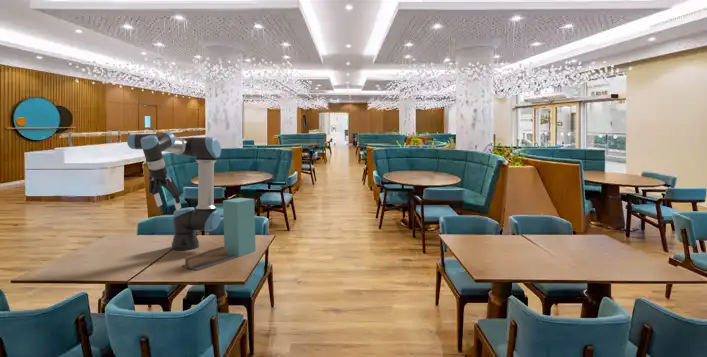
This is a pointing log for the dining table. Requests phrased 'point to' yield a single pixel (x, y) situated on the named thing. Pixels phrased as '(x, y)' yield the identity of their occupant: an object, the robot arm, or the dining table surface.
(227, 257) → the charcoal mat
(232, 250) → the teal pedestal
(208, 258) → the walnut rail
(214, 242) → the dining table surface
